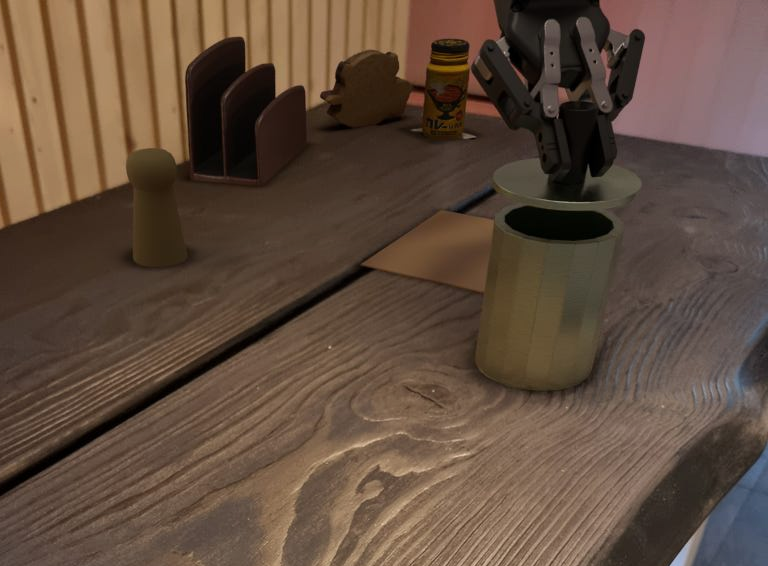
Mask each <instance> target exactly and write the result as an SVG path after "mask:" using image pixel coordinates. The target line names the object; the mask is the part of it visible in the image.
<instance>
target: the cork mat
mask: <svg viewBox="0 0 768 566" xmlns="http://www.w3.org/2000/svg"><path fill="white" fill-rule="evenodd" d="M493 224H494V219H491V218H487V217H481V216H476V215H472V214H471V215H470V214H466V213H465V214H464V213H460V212H454V211H450V210H449V211H448V210H443V209H441V210H439V211H437V212H436V213H435V214H433V215H431V216H430V217H429V218H427V219H426V220H425V221H423V222H422V223H420V224H419V225H417V226H416V227H414V228H413V229H411V230H409V231H408V232H406V233H405V234H403V235H402V236H401V237H398V239H396V240H395V241H393V242H392V243H390V244H389V245H387V246H386V247H384V248H383V249H381V250H380V251H378V252H377V253H375V254H374V255H372V256H371V257H370V258H368V259H366V260H365V261H363V262H361V264H360V266H361V267H363V268H364V267H365V268H369V269H372V270H378V271H382V272H387V273H390V274H396V275H399V276H403V277H409V278H413V279H417V280H418V279H419V280H423V281H426V282H431V283H435V284H440V285H445V286H449V287H453V288H458V289H461V290H466V291H470V292H471V291H472V292H476V293H480V294H484V290H485V283H486V275H487V268H488V261H489V253H490V246H491V239H492V232H493Z"/></svg>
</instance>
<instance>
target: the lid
mask: <svg viewBox="0 0 768 566" xmlns="http://www.w3.org/2000/svg"><path fill="white" fill-rule="evenodd" d="M598 111H599V106H598V105H597V104H595V103H591V102H585V101H569V100H568V101H565V102H562V103H560V104H559V113H558V115H557V119H563V124H564V129H565V134H566V139H567V144H568V149H569V153H570V158H571V168H570V170H569V172H568V173H567V174H566V175H565V176H564V178H563V179H562V180H561V181H553V182H551V181H550V179H549V175H548V174H545V173H544V172H543V170H542V168H541V164H540V159H539V157H534V158H527V159H520V160H514V161H512V162H509V163H506V164H503V165H502V166H500V167H498V168H496V170H495V171H494V173H493V175H492V182H491V184H492V185H491V186H492V188H493V189H494V191H495V192H496V193H497V194H499V195H500V196H502V197H504V198H505V199H508V200H510V201H513V202H515V203H521V204H525V205H529V206H534V207H539V208H545V209H553V210H566V211H591V210H602V209H603V210H609V209H613V208H614V209H615V208H618V207H622V206H624V205H627V204H630V203H632V202H633V201H635V200H637V199H638V197H639V196H640V194H641V192H642V187H643V183H642V180H641V178H640V176H638V175H637V174H635V173H634V172H632V171H630V170H629V169H627V168H625V167H622V166H619V165H616V164H612V166H611V168H610V169H609V170H608V171H607V172H606V173H605V174H604V175H603V176H602V177H591V175H590V170H589V165H588V163H589V158H590V153H591V147H592V142H593V137H594V132H595V126H596V121H597V116H598Z"/></svg>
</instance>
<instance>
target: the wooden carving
mask: <svg viewBox="0 0 768 566" xmlns="http://www.w3.org/2000/svg"><path fill="white" fill-rule="evenodd" d="M399 70H400V62H399V56H398V54H397V53H395V52H391V51H387V52H386V53H384V52H382V51H380V50H376V49H365V50H362V51H360V52H356V53H354V54H352V55H351V56H349V57H348V58H347V59H345V60H343V61H342V60H341V61H339V63H338V64H337V67H336V69H335V73H334V80H335V82H334V84H333V88H332V89H330V90H323V91H321V92H320V94H319V98H320V99H321V100H323V101H324V102H327V103H328V104H329V106H328V108H327V110H326V114H327V115H329V116H330V117H331V118H332V119H334V120H336V121H337V122H338V123H340V124H341V125H344V126H346V127H347V128H351V129H355V128H360V127H365V126H371V125H373V126H376V125H378V124H380V123H381V122H382V121H384V119H386V118H387V117H388V116H394V117H398V116H401V115H403V114H405V110H406V107H407V103H408V101H409V99H410V96H411V93H412V92H413V89H414V85H413V83H412V82H410V81H409V80H407V79H405V78H401V77H400V76H397V75H398V73H399V72H400V71H399Z"/></svg>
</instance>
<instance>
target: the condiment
mask: <svg viewBox="0 0 768 566" xmlns="http://www.w3.org/2000/svg"><path fill="white" fill-rule="evenodd" d="M430 44H431V45H430V48H431V49H430V55H429V59H430V61H429V63H428V64H427V67H426V69H425V81H424V82H425V84H424V92H423V93H424V95H423V96H424V97H423V98H424V99H423V100H424V101H423V104H422V105H423V112H422V113H423V114H422V124H421V127H420V128H414V129H411V131H413V132H420V133H422V135H423V136H424V137H425V138H429V139H432V140H433V139H434V140H453V139H454V140H455V139H464V140H468V139H473V138H477V136H475V135H472V134H469V133H466V132H464V128H465V121H466V120H465V118H466V111H467V109H466V108H467V100H468V93H469V81H470V74H471V73H470V71H471V65H470V63H469V62H468V59H469V58H470V55H469V53H470V43H469V41H468V40H465V39H461V38H438V39H435V40H434V41H432V43H430Z"/></svg>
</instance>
